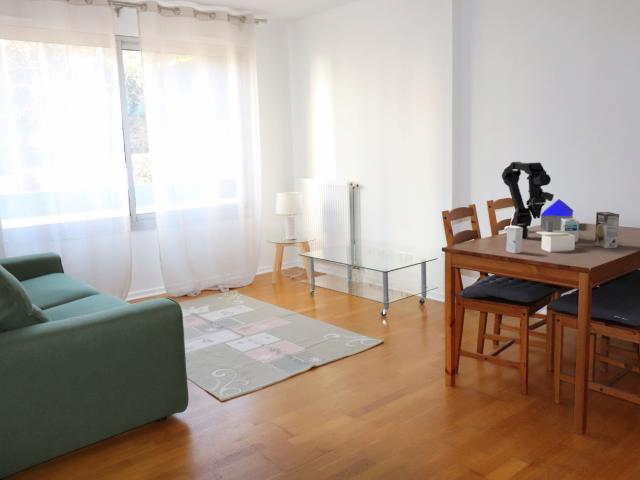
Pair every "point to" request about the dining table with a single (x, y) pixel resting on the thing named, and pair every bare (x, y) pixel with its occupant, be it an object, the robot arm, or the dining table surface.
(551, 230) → the carton lid
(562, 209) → the house
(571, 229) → the light bulb box
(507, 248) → the skincare box
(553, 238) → the carton
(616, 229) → the coffee box
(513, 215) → the seated beast figurine
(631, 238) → the dining table surface
